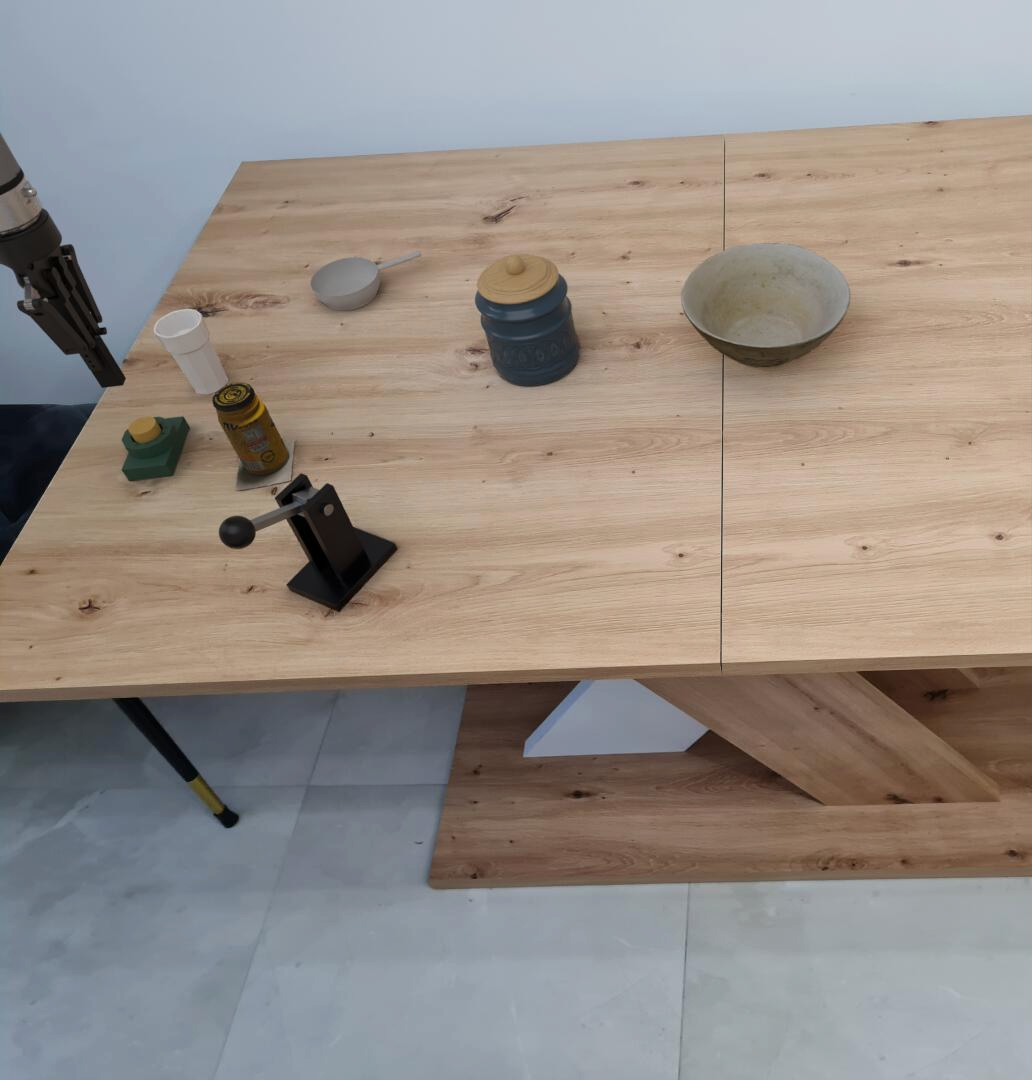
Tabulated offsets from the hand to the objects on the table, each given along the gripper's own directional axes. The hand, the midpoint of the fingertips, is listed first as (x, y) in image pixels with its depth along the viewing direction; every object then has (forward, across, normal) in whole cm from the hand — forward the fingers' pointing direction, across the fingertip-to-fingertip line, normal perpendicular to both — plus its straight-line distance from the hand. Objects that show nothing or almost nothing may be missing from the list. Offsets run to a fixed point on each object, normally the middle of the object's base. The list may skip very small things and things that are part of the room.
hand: (113, 382), depth 135 cm
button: (+10, +1, +1) cm, 10 cm away
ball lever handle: (+1, -30, -25) cm, 39 cm away
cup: (+14, +16, -3) cm, 21 cm away
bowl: (+14, +8, -86) cm, 88 cm away
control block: (+14, +1, +1) cm, 14 cm away
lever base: (+14, -25, -28) cm, 40 cm away
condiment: (+14, -4, -15) cm, 21 cm away
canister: (+14, +12, -52) cm, 55 cm away
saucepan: (+14, +36, -25) cm, 46 cm away
